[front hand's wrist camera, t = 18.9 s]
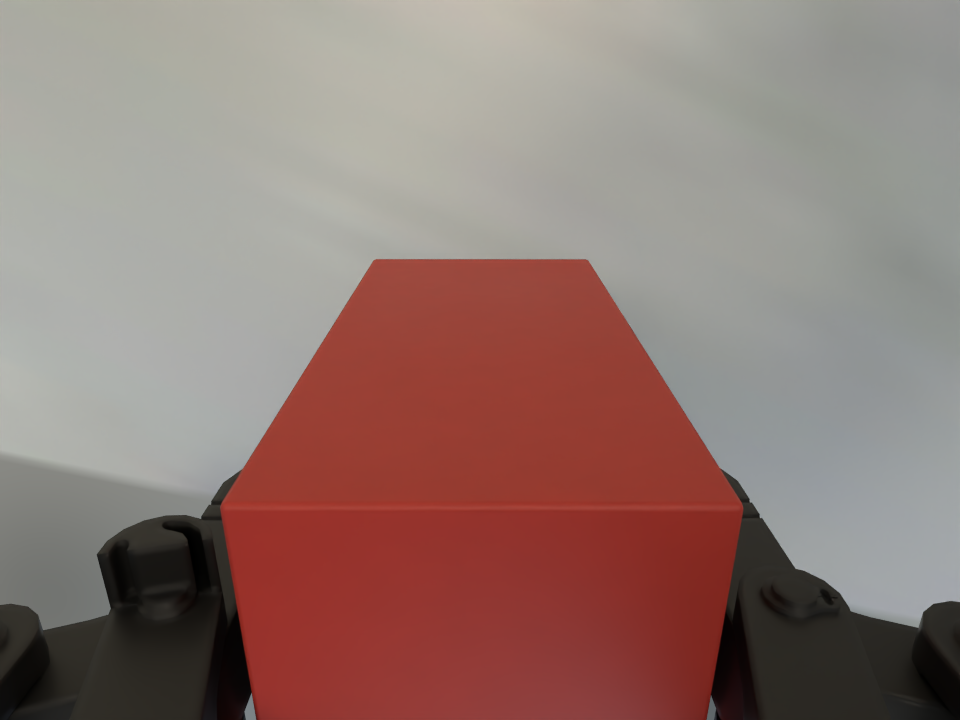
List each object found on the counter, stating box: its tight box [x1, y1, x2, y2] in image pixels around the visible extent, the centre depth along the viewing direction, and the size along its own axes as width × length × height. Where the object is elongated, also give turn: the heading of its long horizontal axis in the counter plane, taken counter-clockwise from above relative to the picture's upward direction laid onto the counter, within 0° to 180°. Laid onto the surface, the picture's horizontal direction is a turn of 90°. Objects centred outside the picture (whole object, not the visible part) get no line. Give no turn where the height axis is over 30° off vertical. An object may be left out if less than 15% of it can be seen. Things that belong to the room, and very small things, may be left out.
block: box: [220, 259, 743, 720], centre depth 11 cm, size 5×7×9 cm
